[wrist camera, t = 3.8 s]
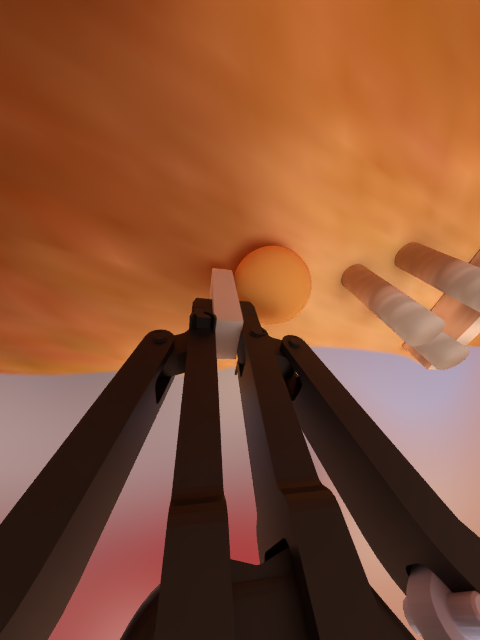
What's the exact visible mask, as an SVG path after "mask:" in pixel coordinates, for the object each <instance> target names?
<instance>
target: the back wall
mask: <svg viewBox="0 0 480 640" xmlns="http://www.w3.org/2000/svg"><path fill="white" fill-rule="evenodd" d="M469 264H472V265H474V266H477V267H479V268H480V251H479V252H478V253H477V254H476V256H475V257H474V258H473V259H472V261H471V262H470V263H469ZM431 312H433V313H434V314H436V315H437V316H438V317H440V318H441V319H443V320H444V321H445V327H444V329H443V330H442V331H444V332H445V333H446V334H448V335H449V336H451V337H452V338H453V339H455V340H456V341H458V342H459V343H460V344H462V345H463V346H466V345H467V344H468V343H469V342H470V341H471V340H472V339H473V338H475V337H476V336H477V335H478V334H479V333H480V312H478V311H476V310H474V309H472V308H471V307H469V306H467V305H465V304H463V303H462V302H460V301H458V300H456V299H454V298H453V297H451V296H449V295H447V294H444V295H443V296H442V298H441V299H440V300H439V301H438V303H437V304H436V305H435V306H434V307H433V309H432V310H431ZM403 347H404V348H405V349H406V350H407V351H409V352H410V353H411V354H412V355H413V356H414V357H415V358H416V359H417V360H418V361H419V362H420V363H421V364H422V365H423V366H424V367H426V369H436V368H435V367H434V366H433V365H432V364H431V363H430V362H429V361H428V360H427V359H425V358H424V357H423V356H422V355H421V354H420V353H419V352H418V351H417V350H415V349H414V348H413V347H412V346H410V345H408V344H407V343H406V342H405V343H404V345H403Z"/></svg>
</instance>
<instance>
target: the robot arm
mask: <svg viewBox="0 0 480 640" xmlns="http://www.w3.org/2000/svg"><path fill="white" fill-rule="evenodd" d="M236 355H238V361H237V365H236V370H235V375H237V372H238V379H239V386H240V393H241V401H242V407H243V414H244V422H245V429H246V436H247V443H248V451H249V458H250V464H251V472H252V479H253V486H254V494H255V501H256V507H257V543H258V551H259V559H260V565H253V564H249V563H244V562H240V561H236V560H232V559H230V545H229V528H228V513H227V505H226V499H225V496H224V491H223V474H222V455H221V433H220V415H219V414H220V413H219V396H218V395H219V394H218V376H217V375H218V373H217V359H236ZM182 373H185V375H184V384H183V394H182V403H181V414H180V423H179V432H178V441H177V450H176V460H175V469H174V479H173V488H172V497H171V502H170V507H169V513H168V521H167V530H166V538H165V548H164V557H163V565H162V575H161V583H160V584H159V585H158V586H157V587H156V588H155V589H154V590H153V591H152V592H151V594H150V595H149V596H148V597H147V599H146V600H145V601H144V602H143V603H142V605H141V606H140V608H139V609H138V611H137V612H136V614H135V615H134V617H133V618H132V620H131V621H130V623H129V625H128V626H127V628H126V630H125V632H124V633H123V635H122V637H121V639H120V640H416V639H415V638H414V636H413V635H412V634H411V633H410V632H409V631H408V629H407V628H406V627H405V626H404V625H403V623H402V622H401V621H400V620H399V619H398V618H397V616H396V615H395V614H394V613H393V612H392V610H391V609H390V608H389V607H388V606H387V605H386V603H385V602H384V601H383V600H382V599H381V597H380V596H379V595H378V594H377V593H376V592H375V590H374V589H373V588H372V587H371V586H370V584H369V582H368V580H367V577H366V574H365V572H364V569H363V567H362V564H361V561H360V559H359V556H358V554H357V551H356V548H355V546H354V543H353V540H352V538H351V536H350V533H349V530H348V527H347V525H346V522H345V520H344V517H343V515H342V512H341V509H340V507H339V504H338V502H337V500H336V498H335V496H334V495H333V493H332V492H331V491H330V490H329V489H328V488H327V487H325V486H324V485H322V483H321V482H320V480H319V478H318V475H317V473H316V470H315V467H314V464H313V461H312V458H311V455H310V452H309V450H308V447H307V444H306V441H305V438H304V436H303V433H304V434H305V436H306V438H307V440H308V441H309V443H310V445H311V446H312V448H313V450H314V452H315V453H316V455H317V457H318V458H319V460H320V462H321V464H322V465H323V467H324V469H325V470H326V472H327V474H328V476H329V477H330V479H331V481H332V482H333V484H334V486H335V488H336V489H337V491H338V493H339V495H340V496H341V498H342V500H343V502H344V503H345V505H346V507H347V508H348V510H349V512H350V514H351V515H352V517H353V519H354V520H355V522H356V524H357V525H358V527H359V529H360V531H361V532H362V534H363V536H364V538H365V539H366V541H367V542H368V544H369V546H370V547H371V549H372V550H373V552H374V554H375V555H376V557H377V558H378V559H379V561H380V562H381V563H382V565H383V567H384V568H385V569H386V571H387V572H388V573H389V575H390V576H391V578H392V579H393V580H394V581H395V583H396V584H397V585H398V586H399V588H400V589H401V590H402V591H403V592H404V593H405V595H406V596H407V597H406V598H405V599H404V601H403V610H404V614H405V617H406V619H407V621H408V623H409V625H410V626H411V627H412V629H413V630H414V631H415V632H416V633H417V634H419V635H420V636H422V637H423V639H424V640H480V538H479V537H478V536H477V535H476V534H475V533H474V532H472V531H471V530H470V529H469V528H468V527H467V526H465V525H464V524H463V523H462V522H461V521H460V520H458V518H457V517H456V516H455V515H454V514H453V513H452V511H451V510H450V509H449V508H448V507H447V506H446V504H444V502H443V501H442V500H441V499H440V498H439V497H438V495H437V494H436V493H435V492H434V491H433V489H432V488H431V487H430V486H429V485H428V484H427V483H426V481H424V479H423V478H422V477H421V476H420V474H419V473H418V472H417V471H416V470H415V469H414V467H413V466H412V465H411V464H410V463H409V462H408V460H407V459H406V458H405V457H404V456H403V455H402V454H401V452H400V451H399V450H398V449H397V448H396V447H395V445H394V444H393V443H392V442H391V441H390V440H389V439H388V437H387V436H386V435H385V434H384V433H383V432H382V430H381V429H380V428H379V427H378V426H377V425H376V423H375V422H374V421H373V420H372V419H371V418H370V417H369V415H368V414H367V413H366V412H365V411H364V410H363V408H362V407H361V406H360V405H359V404H358V403H357V402H356V400H355V399H354V398H353V397H352V396H351V395H350V393H349V392H348V391H347V390H346V389H345V388H344V386H343V385H342V384H341V383H340V382H339V381H338V380H337V378H336V377H335V376H334V375H333V374H332V373H331V372H330V370H329V369H328V368H327V367H326V366H325V365H324V363H323V362H322V361H321V360H320V359H319V358H318V357H317V355H316V354H315V353H314V352H313V351H312V349H311V348H310V347H309V346H308V345H307V344H306V343H305V341H303V340H302V339H301V338H299V337H297V336H294V335H287V336H284V337H283V339H282V340H279V339H275V338H272V337H270V336H269V335H268V333H267V331H266V330H265V329H263V328H261V325H260V322H259V319H258V316H257V313H256V310H255V307H254V305H253V304H252V303H251V302H249V301H239V299H238V295H237V290H236V286H235V281H234V277H233V273H232V270H226V269H217V268H212V276H211V287H210V298H209V299H203V298H196V299H195V300H194V301H193V306H192V313H191V315H190V324H189V330H188V331H186V332H185V333H182V334H179V335H173V334H172V333H171V332H170V331H167V330H154V331H152V332H149V333H148V334H147V335H146V336H145V337H144V339H143V340H142V341H141V342H140V344H139V345H138V346H137V348H136V349H135V350H134V352H133V353H132V354H131V355H130V357H129V358H128V359H127V361H126V362H125V363H124V365H123V366H122V367H121V368H120V370H119V371H118V372H117V374H116V375H115V377H114V378H113V379H112V380H111V381H110V383H109V384H108V385H107V387H106V388H105V389H104V390H103V392H102V393H101V395H100V396H99V397H98V398H97V400H96V401H95V402H94V404H93V405H92V406H91V407H90V409H89V410H88V411H87V413H86V414H85V415H84V416H83V418H82V419H81V420H80V422H79V423H78V424H77V426H76V427H75V428H74V429H73V431H72V432H71V433H70V435H69V436H68V437H67V439H66V440H65V441H64V443H63V444H62V445H61V446H60V448H59V449H58V450H57V452H56V453H55V454H54V455H53V457H52V458H51V459H50V461H49V462H48V463H47V465H46V466H45V467H44V468H43V470H42V471H41V472H40V474H39V475H38V476H37V478H36V479H35V480H34V482H33V483H32V484H31V485H30V487H29V488H28V489H27V490H26V492H25V493H24V494H23V496H22V497H21V498H20V500H19V501H18V502H17V503H16V505H15V506H14V507H13V509H12V510H11V511H10V513H9V514H8V515H7V516H6V518H5V519H4V520H3V522H2V523H1V524H0V640H48V638H49V636H50V635H51V633H52V631H53V630H54V628H55V626H56V624H57V623H58V621H59V619H60V618H61V616H62V614H63V612H64V610H65V608H66V606H67V604H68V602H69V600H70V598H71V596H72V594H73V592H74V590H75V588H76V586H77V585H78V583H79V580H80V578H81V576H82V574H83V572H84V570H85V568H86V565H87V563H88V561H89V559H90V557H91V555H92V553H93V550H94V548H95V546H96V544H97V542H98V540H99V538H100V535H101V533H102V531H103V529H104V527H105V525H106V523H107V521H108V518H109V516H110V514H111V512H112V510H113V508H114V506H115V504H116V501H117V499H118V497H119V495H120V493H121V491H122V488H123V486H124V484H125V482H126V480H127V478H128V476H129V474H130V471H131V469H132V467H133V465H134V463H135V461H136V459H137V456H138V454H139V452H140V450H141V448H142V446H143V444H144V442H145V439H146V437H147V435H148V433H149V431H150V429H151V427H152V424H153V422H154V420H155V418H156V415H157V414H158V412H159V409H160V407H161V405H162V403H163V401H164V399H165V397H166V395H167V392H168V390H169V388H170V386H171V384H172V382H173V380H174V377H175V375H178V374H182ZM296 373H297V374H298V375H297V374H296ZM301 429H302V430H301ZM302 431H303V433H302Z"/></svg>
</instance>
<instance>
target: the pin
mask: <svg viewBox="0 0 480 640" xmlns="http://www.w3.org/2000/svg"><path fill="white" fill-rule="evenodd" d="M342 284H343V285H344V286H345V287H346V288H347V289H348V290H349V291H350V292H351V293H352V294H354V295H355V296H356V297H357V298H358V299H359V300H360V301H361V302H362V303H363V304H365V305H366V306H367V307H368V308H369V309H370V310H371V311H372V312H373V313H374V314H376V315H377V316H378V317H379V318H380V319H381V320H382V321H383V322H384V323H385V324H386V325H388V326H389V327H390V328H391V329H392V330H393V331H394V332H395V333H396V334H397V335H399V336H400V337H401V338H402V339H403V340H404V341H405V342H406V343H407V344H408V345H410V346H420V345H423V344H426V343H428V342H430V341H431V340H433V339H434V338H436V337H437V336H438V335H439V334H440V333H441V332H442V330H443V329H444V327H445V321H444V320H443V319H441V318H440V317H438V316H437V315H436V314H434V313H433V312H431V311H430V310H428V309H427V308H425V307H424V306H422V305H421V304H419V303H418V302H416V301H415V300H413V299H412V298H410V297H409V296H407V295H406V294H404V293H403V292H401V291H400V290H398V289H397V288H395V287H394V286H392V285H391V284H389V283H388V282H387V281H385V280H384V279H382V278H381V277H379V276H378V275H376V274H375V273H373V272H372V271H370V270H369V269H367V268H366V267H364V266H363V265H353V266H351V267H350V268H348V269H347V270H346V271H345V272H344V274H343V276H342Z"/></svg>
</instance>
